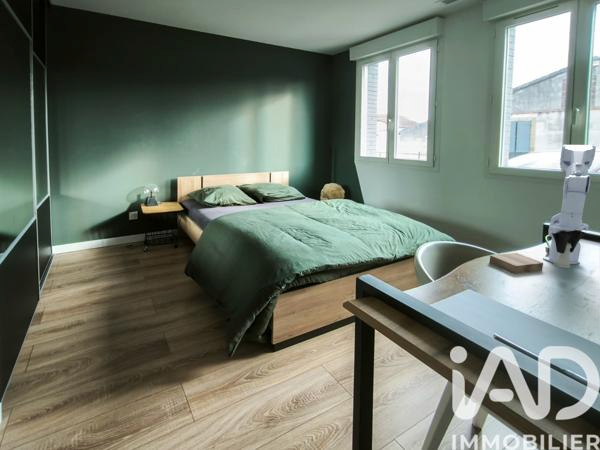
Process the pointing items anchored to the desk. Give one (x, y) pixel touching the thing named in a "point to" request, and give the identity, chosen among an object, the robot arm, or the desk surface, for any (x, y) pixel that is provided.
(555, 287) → the desk surface
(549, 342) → the desk surface
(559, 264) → the rook chess piece
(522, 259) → the walnut block
